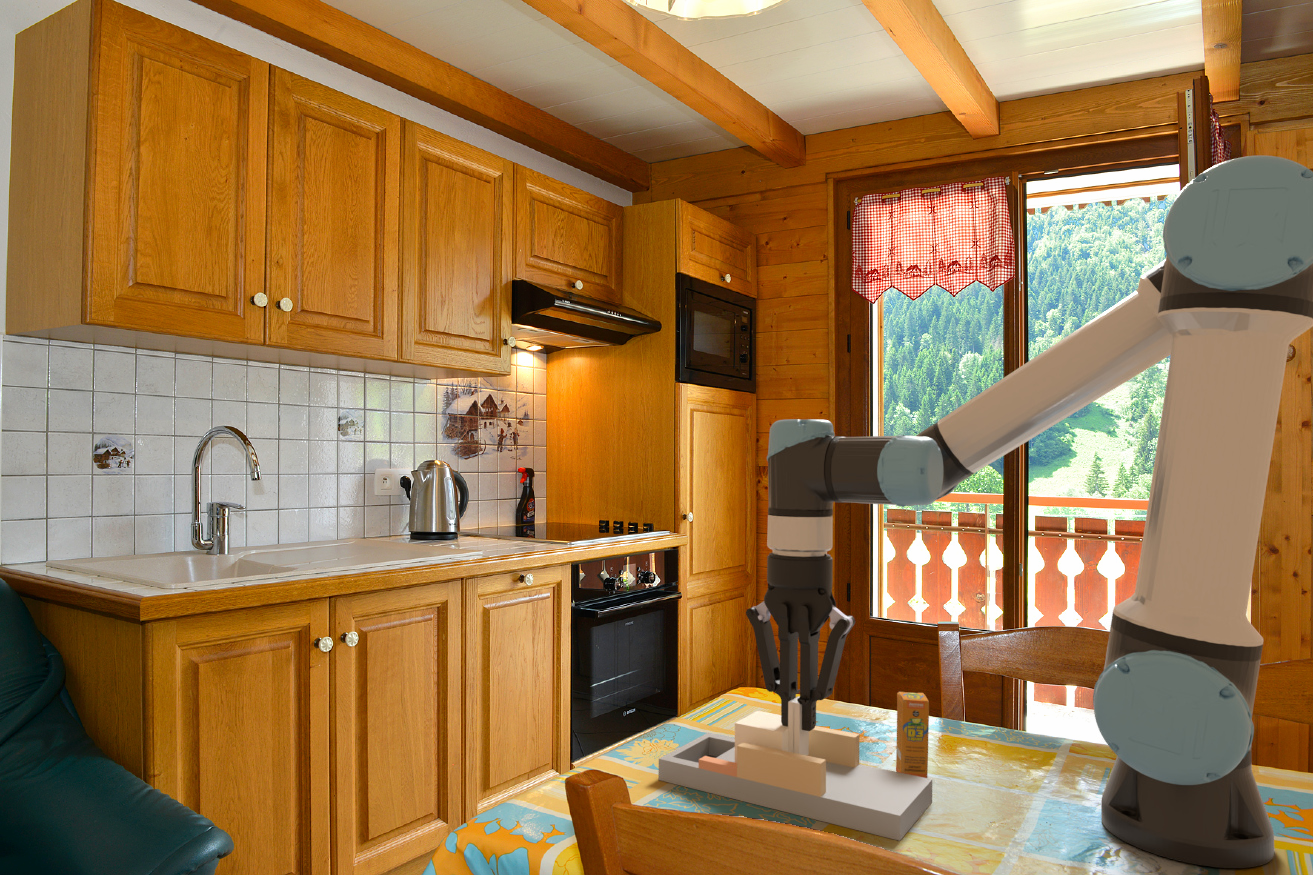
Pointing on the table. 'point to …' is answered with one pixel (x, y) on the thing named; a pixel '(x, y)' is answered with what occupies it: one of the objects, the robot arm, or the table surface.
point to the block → (761, 731)
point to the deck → (804, 781)
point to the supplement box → (912, 734)
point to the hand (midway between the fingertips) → (798, 756)
